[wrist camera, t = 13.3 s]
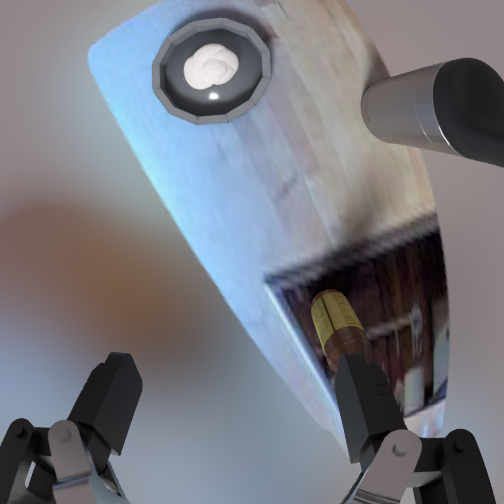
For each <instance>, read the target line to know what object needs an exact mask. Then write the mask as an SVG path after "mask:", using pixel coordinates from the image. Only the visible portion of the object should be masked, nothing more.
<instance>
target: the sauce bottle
mask: <svg viewBox="0 0 504 504" xmlns="http://www.w3.org/2000/svg"><path fill="white" fill-rule="evenodd" d="M311 312H312V318H313V321H314V324H315V326H316V329H317V333H318V336H319V339H320V342H321V345H322V348H323V351H324V354H325V356H326V357H327V361H328V364H329V366H330V369H331V370H332V371H334V372H335V373H337V369H338V364H339V360H340V356H341V354H342V353H351V352H359V351H361V352H362V353H363V355H364V357H365V360H366V362H367V364H371V354H372V346H371V344H370V342H369V340H368V339H367V336H366V333H365V331H364V329H363V327H362V325H361V324H360V322H359V320H358V318H357V316H356V314H355V313H354V311H353V309H352V307H351V305H350V304H349V302H348V300H347V298H346V297H345V296H344V295H343V294H342V293H341V292H339V291H337V290H335V289H328V290H325V291H322V292H320V293H318V294H317V295H316V296H315V297H314V299H313V301H312V303H311Z"/></svg>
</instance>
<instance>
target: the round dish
mask: <svg viewBox="0 0 504 504" xmlns="http://www.w3.org/2000/svg"><path fill="white" fill-rule="evenodd" d="M167 38H168V39H169V40H168V39H166V40H165V41H164V43H163V45H162V47H161V48H160V50H159V52H158V54H157V55H156V57H155V59H154V61H153V64H152V85H153V90H154V91H153V92H154V93H155V95H156V96H157V98H158V99H159V101H160V102H161V103H162V105H163V106H164V108H165V109H166V110H167V112H168V113H169V114H171V115H174V116H176V117H178V118H181V119H183V120H186V121H188V122H190V123H193V124H195V125H209V124H220V123H229V122H232V121H233V120H235V119H237V118H238V117H240V116H242V115H244V114H245V113H247V112H248V111H250V110H251V109H253V108H255V105H256V106H257V104H258V102H259V101H260V99H261V97H262V96H263V94H264V92H265V90H266V88H267V87H268V85H269V83H270V81H271V64H270V51H269V49H268V47H267V46H266V45H265V43H264V42H263V41H262V40H261V38H260V37H259V36H258V35H257V33H256V32H255V31H254V30H253V28H252V29H251V27H249V26H246V25H244V24H241V23H238V22H235V21H233V20H230V19H227V18H224V19H223V17H222V18H213V19H205V20H198V21H193V23H192V22H190V23H189V24H187V25H186V26H184V27H182V28H181V29H179V30H178V31H176V32H175V33H173V34H172V35H170V36H169V37H167ZM208 44H220V45H222V46H224V47H226V48H227V49H228V50H230V51H232V52H233V53H235V54H236V56H237V58H238V61H239V66H238V69H237V71H236V73H235V74H234V75H233V77H232V78H231V79H230V80H229V81H227V82H226V83H224V84H220V85H215V84H212V86H210V87H208V88H205V89H202V90H201V89H200V90H199V89H195V88H193V87H191V86H190V85H189V84H188V82H187V81H186V78H185V75H184V65H185V62H186V60H187V59H188V58H189V57H191V56H193V55H194V54H195V52H196V51H197V50H199V49H200V48H201V47H203V46H205V45H208Z"/></svg>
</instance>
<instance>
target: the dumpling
mask: <svg viewBox="0 0 504 504" xmlns="http://www.w3.org/2000/svg"><path fill="white" fill-rule="evenodd" d="M238 66H239V61H238V58H237V56H236V54H235V53H233V52H232V51H230V50H228V49H227V48H226V47H224V46H222V45H220V44H208V45H205V46H203V47H201V48H200V49H199V50H197V51H196V52H195V54H194V55H193V56H191V57H189V58H188V59H187V60H186V62H185V65H184V75H185V78H186V81H187V82H188V84H189V85H190V86H191V87H193V88H195V89H199V90H200V89H201V90H202V89H205V88H208V87H210V86H212V84H215V85H220V84H224V83H226V82H227V81H229V80H230V79H231V78H232V77H233V75H234V74H235V73H236V71H237V69H238Z"/></svg>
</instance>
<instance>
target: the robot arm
mask: <svg viewBox="0 0 504 504" xmlns="http://www.w3.org/2000/svg"><path fill="white" fill-rule="evenodd" d="M361 111H362V116H363V119H364V122H365V124H366V126H367V128H368V129H369V130H370V131H371V133H372V134H373V135H375V136H376V137H377V138H379V139H380V140H382V141H385V142H388V143H394V144H400V145H405V146H411V147H417V148H423V149H428V150H433V151H437V152H442V153H447V154H452V155H456V156H460V157H465V158H468V159H473V160H477V161H481V162H485V163H489V164H493V165H496V166H500V167H503V168H504V81H503V80H502V78H501V77H500V76H499V75H498V74H497V72H496V71H495V70H494V69H493V68H491V67H490V66H489V65H487V64H486V63H484V62H482V61H480V60H478V59H473V58H461V59H456V60H452V61H447V62H443V63H439V64H435V65H432V66H428V67H424V68H421V69H418V70H414V71H411V72H407V73H404V74H401V75H397V76H394V77H391V78H388V79H385V80H382V81H379V82H376V83H374V84H372V85H371V86H370V87H369V88H368V89H367V90H366V91H365V93H364V95H363V98H362V103H361ZM141 392H142V379H141V377H140V374H139V372H138V370H137V368H136V365H135V363H134V361H133V358H132V356H131V355H130V354H128V353H119V352H111V353H110V354H109V356H108V358H107V360H106V361H105V363H100V364H99V365H98V366H97V367H96V368H95V369H94V370H93V371H92V372H91V374H90V376H89V378H88V380H87V382H86V383H85V385H84V387H83V390H82V391H81V393H80V395H79V397H78V399H77V401H76V403H75V405H74V407H73V409H72V411H71V413H70V415H69V417H68V418H67V420H60V421H58V422H56V423H54V424H53V425H52V427H51V428H41V427H34V426H33V425H32V424H31V423H30V422H29V421H28V420H26V419H24V418H20V419H16V420H15V421H13V422H12V423H11V425H10V426H9V429H8V430H7V433H6V435H5V437H4V439H3V441H2V444H1V446H0V504H131V503H130V502H129V501H128V499H127V498H126V496H125V494H124V492H123V490H122V488H121V486H120V484H119V481H118V479H117V477H116V475H115V473H114V470H113V468H112V465H111V463H110V461H109V460H108V458H109V455H110V453H111V454H114V455H118V456H120V455H121V451H122V448H123V445H124V442H125V439H126V436H127V433H128V430H129V427H130V424H131V421H132V418H133V415H134V412H135V409H136V407H137V404H138V401H139V398H140V395H141ZM335 394H336V399H337V403H338V407H339V411H340V416H341V420H342V424H343V429H344V433H345V438H346V442H347V447H348V452H349V456H350V461H351V464H352V463H358V462H360V464H361V469H362V470H361V471H360V473H359V475H358V477H357V478H356V480H355V481H354V483H353V485H352V486H351V488H350V489H349V491H348V493H347V494H346V496H345V497H344V499H343V500H342V502H341V503H340V504H399V503H400V500H401V498H402V496H403V494H404V492H405V490H406V487H413V492H414V497H415V502H416V504H496V501H495V497H494V494H493V490H492V487H491V483H490V480H489V476H488V473H487V470H486V467H485V464H484V461H483V458H482V456H481V453H480V450H479V447H478V445H477V442H476V440H475V437H474V436H473V434H472V433H471V432H469V431H467V430H465V429H456V430H453V431H451V432H450V433H449V434H448V435H447V436H446V437H445V438H421V437H418V436H417V435H416V434H415V433H413V432H412V431H409V430H408V429H407V427H406V425H405V423H404V420H403V417H402V415H401V412H400V410H399V407H398V405H397V402H396V400H395V397H394V395H393V394H392V390H391V387H390V385H389V384H388V380H387V378H386V375H385V373H384V371H383V370H382V369H381V368H380V367H379V366H377V365H376V364H375V363H371V364H367V362H366V360H365V357H364V355H363V353H362V352H361V351H359V352H351V353H342V354H341V356H340V360H339V364H338V369H337V373H336V377H335ZM32 461H33V462H34V463H35V464H36V465H35V468H34V471H33V473H32V476H31V480H30V482H29V486H28V488H26V486H25V480H26V477H27V474H28V471H29V468H30V465H31V463H32Z"/></svg>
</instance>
